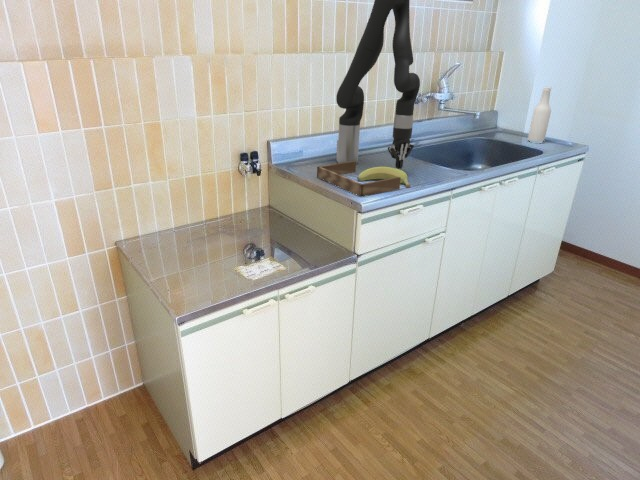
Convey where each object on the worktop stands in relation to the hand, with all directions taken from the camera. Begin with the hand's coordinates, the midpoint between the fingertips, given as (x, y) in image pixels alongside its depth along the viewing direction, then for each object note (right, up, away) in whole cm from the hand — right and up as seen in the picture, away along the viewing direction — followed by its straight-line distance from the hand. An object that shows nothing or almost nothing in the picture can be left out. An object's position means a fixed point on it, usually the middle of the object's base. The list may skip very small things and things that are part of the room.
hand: (398, 168), depth 189 cm
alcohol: (+91, +26, +72) cm, 119 cm away
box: (-18, -7, -10) cm, 22 cm away
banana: (-6, -7, -8) cm, 13 cm away
